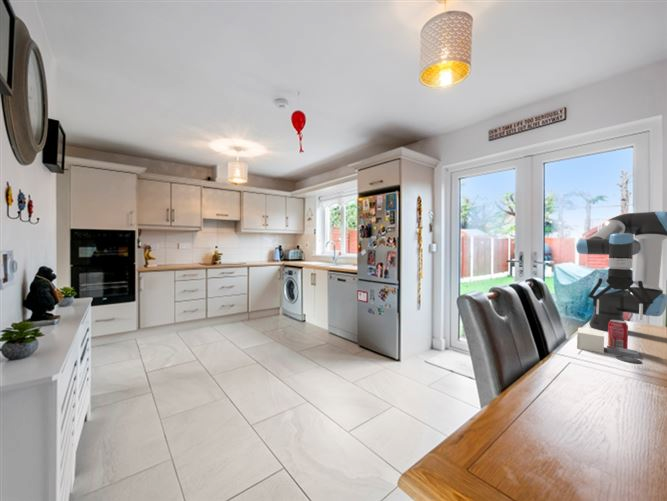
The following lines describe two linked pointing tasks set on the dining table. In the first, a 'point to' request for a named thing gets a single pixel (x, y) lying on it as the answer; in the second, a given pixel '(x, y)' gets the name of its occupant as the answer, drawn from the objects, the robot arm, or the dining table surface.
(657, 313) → the robot arm
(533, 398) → the dining table surface
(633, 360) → the coaster
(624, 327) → the beverage can
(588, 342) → the large cream box
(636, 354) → the slate tile
